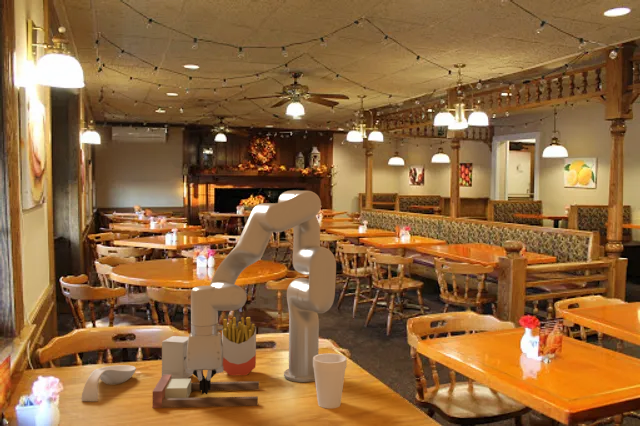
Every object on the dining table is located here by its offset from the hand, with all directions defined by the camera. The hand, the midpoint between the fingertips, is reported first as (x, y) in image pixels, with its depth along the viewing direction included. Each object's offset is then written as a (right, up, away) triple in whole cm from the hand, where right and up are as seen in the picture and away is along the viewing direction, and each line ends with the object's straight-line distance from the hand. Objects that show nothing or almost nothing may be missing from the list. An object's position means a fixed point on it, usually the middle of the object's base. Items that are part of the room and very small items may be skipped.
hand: (205, 392), depth 158 cm
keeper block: (-8, -2, +1) cm, 8 cm away
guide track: (+1, -1, 0) cm, 2 cm away
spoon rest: (-31, -1, +7) cm, 32 cm away
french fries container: (+6, -1, +21) cm, 22 cm away
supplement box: (-12, -1, +16) cm, 20 cm away
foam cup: (+36, -2, -4) cm, 36 cm away
